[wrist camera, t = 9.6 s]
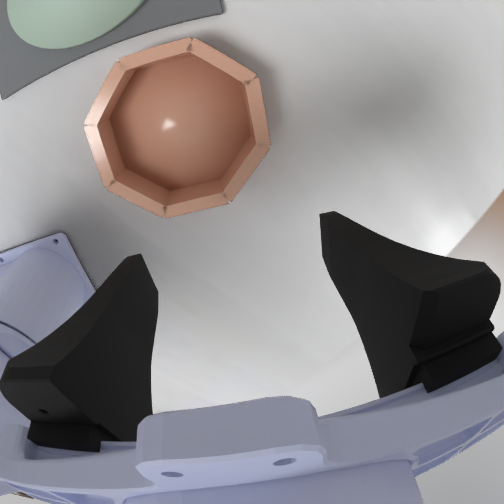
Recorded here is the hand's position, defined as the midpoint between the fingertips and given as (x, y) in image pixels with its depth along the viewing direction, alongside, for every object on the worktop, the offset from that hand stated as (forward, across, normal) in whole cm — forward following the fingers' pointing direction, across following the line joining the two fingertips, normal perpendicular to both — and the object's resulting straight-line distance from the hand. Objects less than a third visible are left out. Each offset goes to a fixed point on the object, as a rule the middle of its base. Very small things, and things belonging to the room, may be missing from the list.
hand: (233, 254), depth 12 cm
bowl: (+10, +2, -4) cm, 11 cm away
